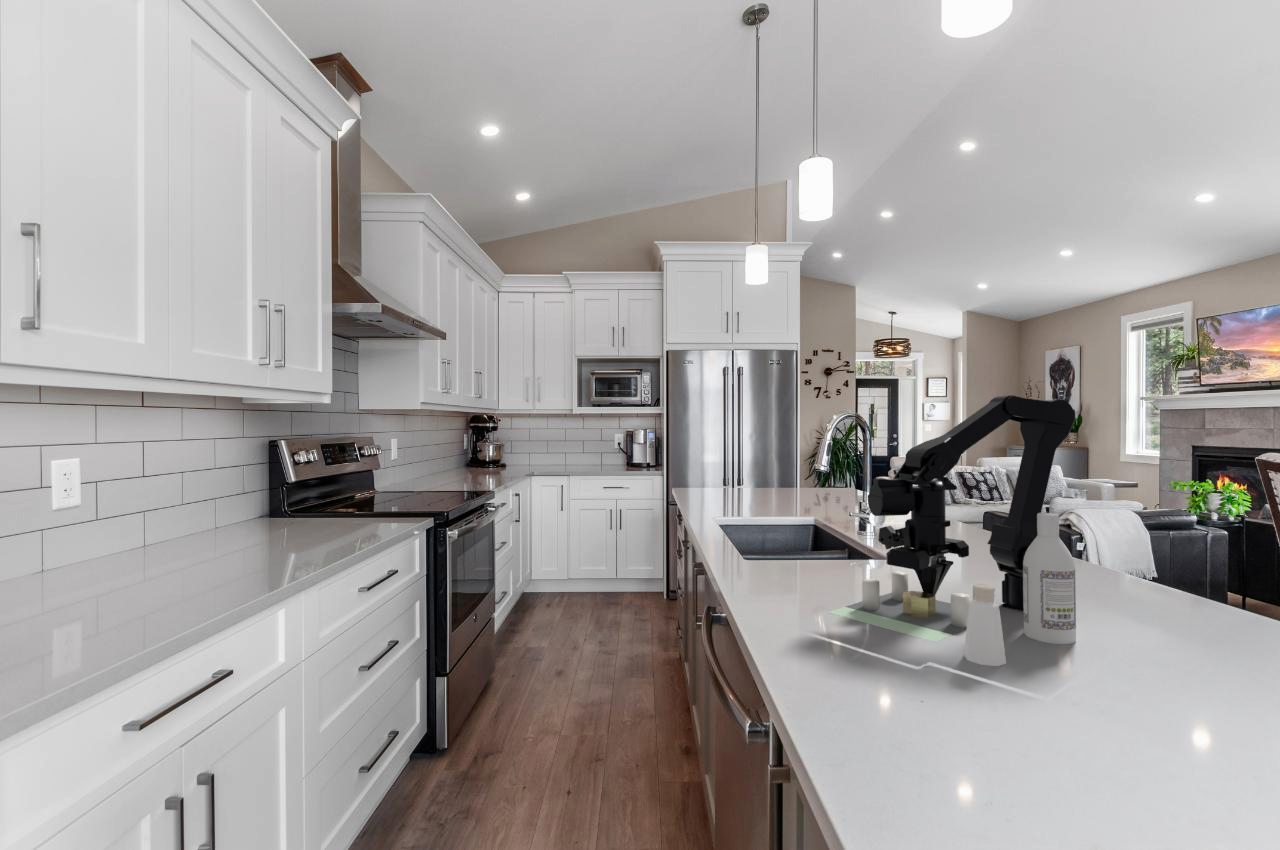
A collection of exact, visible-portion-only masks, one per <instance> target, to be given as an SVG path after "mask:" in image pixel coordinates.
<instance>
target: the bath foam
mask: <svg viewBox="0 0 1280 850" xmlns="http://www.w3.org/2000/svg"><path fill="white" fill-rule="evenodd" d="M1037 534H1038V535H1037V537H1036V538H1035V539H1034V541H1033V542H1032V543H1031V544H1030V546H1029V547H1028V549H1027V551H1026V553H1025V556H1024V560H1023V608H1024V611H1023V633H1024V635H1025V636H1026V637H1028V638H1029V639H1032V640H1035V641H1038V642H1042V643H1047V644H1055V645H1071V644H1074V643H1075V642H1076V641H1077V607H1076V606H1077V603H1076V602H1077V601H1076V597H1077V596H1076V565H1075V561H1074V558H1073V556H1072V555H1073V554H1071V552H1070V550H1069V549H1068V547H1067V546H1066V545H1065V543H1064V542H1063V540H1061V539H1062V538H1061V537H1060V514H1057V513H1053V512H1052V513H1051V512H1041V513H1038V514H1037Z"/></svg>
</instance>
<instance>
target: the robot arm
mask: <svg viewBox="0 0 1280 850" xmlns="http://www.w3.org/2000/svg"><path fill="white" fill-rule="evenodd" d="M1075 420H1076V410H1075V409H1073V406H1072V405H1071V404H1070V402H1069V401H1066V400H1064V399H1061V398H1060V399H1059V398H1058V399H1057V398H1056V399H1046V400H1044V399H1043V400H1041V399H1040V400H1039V399H1034V398H1026V397H1021V396H1016V395H1013V394H1011V395H999V396H997V395H996V396H994V397H993V398H992V399H991V400H990V401H989V402H988V403H987V404H985V405H984V406H983V407H981V408H980V409H978V410H977V411H976V412H974V413H972V414H971V415H969V416H968V417H967V418H966V419H964V420H962V422H960V423H959V424H957V425H956V426H954V427H953V428H952V429H950V430H949V431H947V432H946V433H944V434H943V435H940V436H938V437H934V438H932V439H929V440H925V441H924V442H922V443H919V444H917V445H915V446H913V447H911V448H910V449H908V451H907V452H906V454H905V461H904V462H903V463H902V465H901V466H900V468H899V470H898V471H897V472H896V474H895V475H894V477H893V478H890V479H889V478H887V479H886V478H881V477H880V478H879V477H878V478H876V477H874V478H873V479H872V480H873V483H872V484H873V485H871V487H870V488H869V492H868V494H867V504H868V508H869V511H870V513H871V514H872V515H873V516H875V517H884V516H885V517H888V516H889V517H890V516H893V517H894V516H895V517H896V516H907V515H908V514H910V518H909V519H906V520H904V521H905V522H904V527H901V528H897V529H894V527H893V526H892V525H888V526H883V527H880V528H879V531H878V542H879V543H880V544H881V545H884V548H885V550H888V551H887V552H886V553H885V554H886V555H885V556H886V560H885V561H886V563H885V564H886V565H889V566H892V567H893V566H894V567H898V568H904V569H910V570H913V571H914V572H915V574H916V576H917V578H918V582H919V584H920V586H921V590H922V592H928V593H930V594H932V595H934V596H935V597H936V595H937V593H938V591H939V589H940V587H941V585H942V583H943V582H944V580H945V579H944V578H945V577H946V576H947V574H948V572H949V570H950V568H951V566H952V565H954V561H953V560H947V557H946V556H945V555H946V554H953V555H957V556H958V558H961V559H962V558H966V557H970V546H969V544H967V542H966V541H965V540H962V539H955V538H949V537H946V536H947V535H946V534H947V529H946V528H947V527H951V520H947V519H946V491H956V490H957V489H958V486H957V485H956V484H954V483H953V482H952V481H951V480H950V479H949V477H947V475H948V474H949V473H950V472H951V471H952V469H954V468H955V466H956V465H957V464H958V463H959V461H960V459H961V456H962V455H963V454H964V453H965V452H966V451H967V450H969V449H970V448H971V447H973V446H974V445H976V444H978V443H979V442H980V441H981V440H983V439H984V438H986V437H987V436H988V435H990V434H991V433H993V432H994V431H995V430H997V429H998V428H1000V427H1001V426H1002V425H1004V424H1005V423H1007V422H1008V421H1011V422H1016V423H1019V424H1020V425H1019V429H1020V434H1021V436H1022V439H1023V442H1024V447H1023V451H1022V455H1021V459H1020V460H1021V461H1020V463H1019V469H1018V471H1017V472H1018V474H1017V477H1016V482H1015V486H1014V490H1013V494H1012V500H1011V504H1010V507H1009V512H1008V515H1007V518H1005V520H1004V521H1003V522H1002V523H1001V524H998V523H993V524H992V526H991V533H990V538H989V540H988V542H987V545H989V555H991V556H992V558H993V560H994V561H995V562H996V565H997V567H998V570H999V571H1000V572H1004V580H1001V602H1002V604H1000V607H1002V608H1005V609H1011V610H1015V611H1021V612H1024V608H1023V560H1024V556H1025V553H1026V551H1027V549H1028V547H1029V546H1030V544H1031V543H1032V542H1033V541H1034V539H1035V538H1036V537H1037V535H1038V534H1037V514H1038V513H1042V510H1043V508H1044V507H1043V506H1044V503H1045V502H1044V501H1045V498H1046V497H1045V496H1046V492H1047V489H1048V484H1049V479H1050V476H1051V472H1052V467H1053V463H1054V458H1055V454H1056V451H1057V449H1058V448H1059V446H1060V445H1061V444H1062V443H1063V442H1064V441H1065V440H1066V439H1067V437H1069V435H1070V433H1071V429H1072V428H1073V425H1074V423H1075ZM934 479H936V480H934Z"/></svg>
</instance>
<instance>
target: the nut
mask: <svg viewBox="0 0 1280 850" xmlns="http://www.w3.org/2000/svg"><path fill="white" fill-rule="evenodd" d="M935 600H936V595H935V596H934V595H932V594H930V593H928V592H923V591H917V590H908V592H905V593H903V613H905V614H907V615H909V616H911V617H918V618H927V619H928V618H931V617H934V616H936V601H935Z"/></svg>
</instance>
